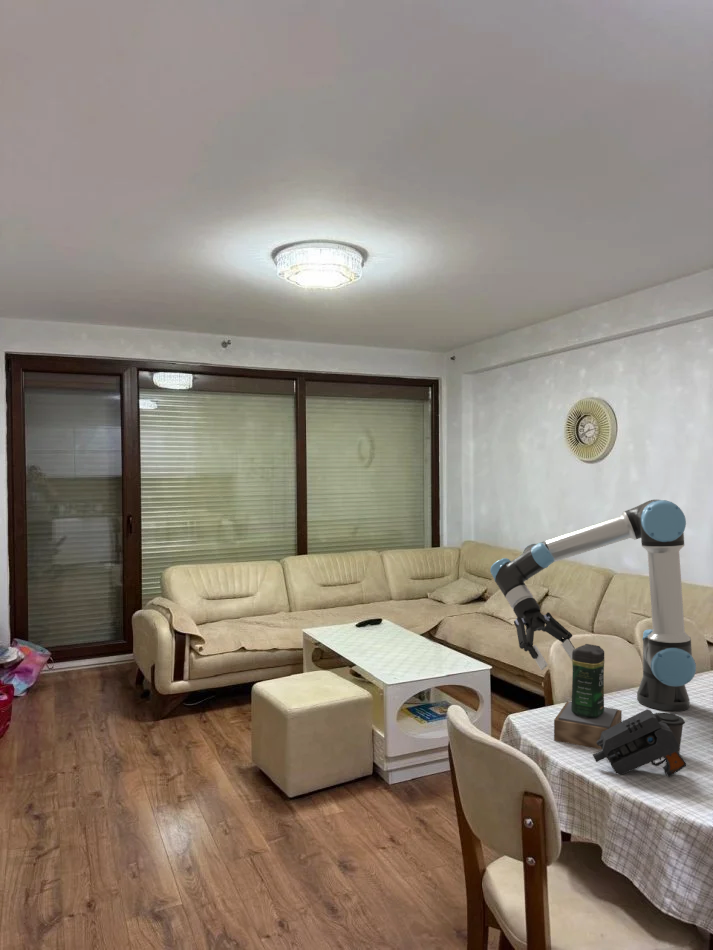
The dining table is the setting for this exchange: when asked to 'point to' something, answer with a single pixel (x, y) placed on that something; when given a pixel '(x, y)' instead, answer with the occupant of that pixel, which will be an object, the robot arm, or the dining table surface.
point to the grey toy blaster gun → (640, 744)
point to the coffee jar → (588, 681)
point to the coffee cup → (673, 725)
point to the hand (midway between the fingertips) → (561, 664)
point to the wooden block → (584, 726)
